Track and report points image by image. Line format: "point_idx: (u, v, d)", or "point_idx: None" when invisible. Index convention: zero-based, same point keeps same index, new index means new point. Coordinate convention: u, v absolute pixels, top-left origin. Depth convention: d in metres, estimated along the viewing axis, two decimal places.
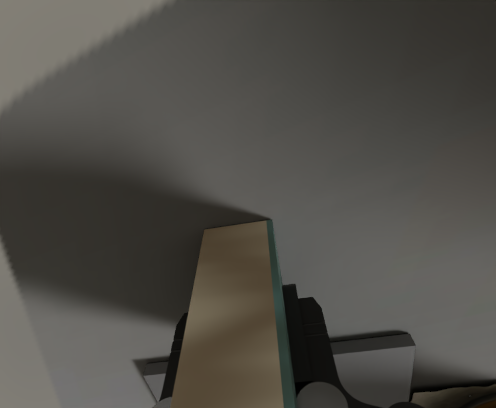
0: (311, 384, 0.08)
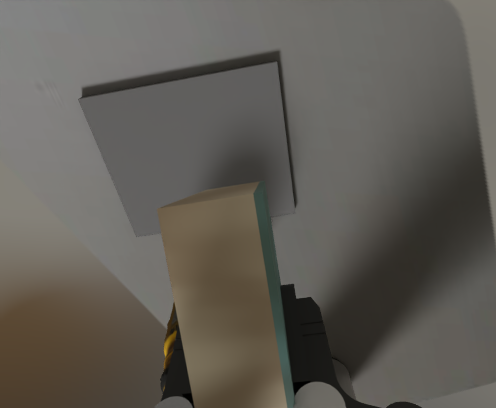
0: (309, 384, 0.08)
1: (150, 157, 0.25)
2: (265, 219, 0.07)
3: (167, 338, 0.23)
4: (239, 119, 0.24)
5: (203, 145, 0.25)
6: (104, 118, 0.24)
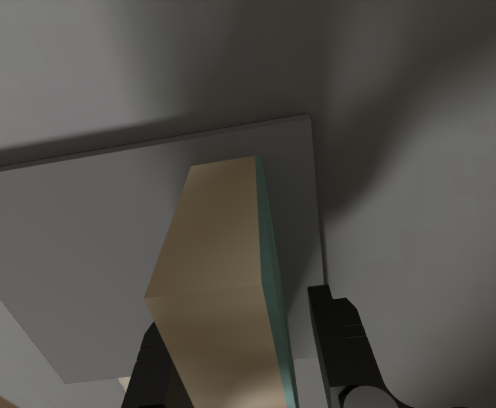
0: (358, 388, 0.08)
1: (71, 279, 0.14)
2: (275, 305, 0.06)
3: None
4: None
5: None
6: None
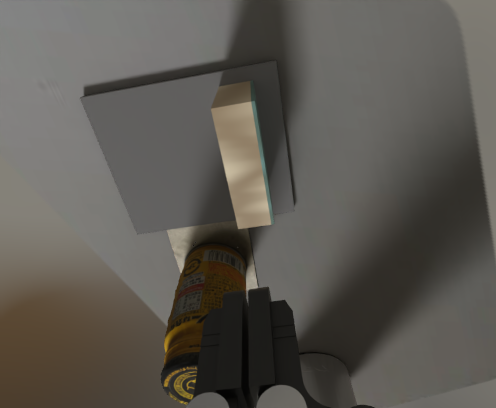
0: (273, 387, 0.08)
1: (151, 155, 0.26)
2: (256, 112, 0.18)
3: (167, 334, 0.24)
4: None
5: (203, 143, 0.25)
6: (105, 117, 0.24)
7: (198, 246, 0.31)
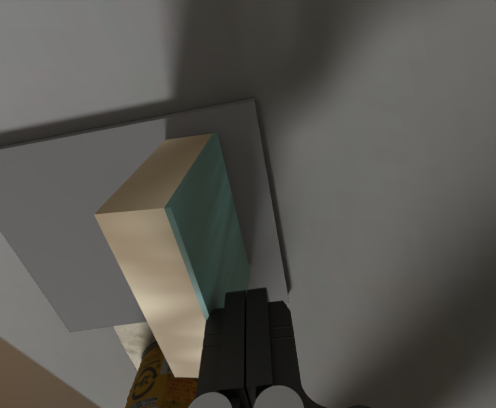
0: (270, 388, 0.08)
1: (74, 235, 0.17)
2: (176, 225, 0.09)
3: None
4: None
5: None
6: None
7: None
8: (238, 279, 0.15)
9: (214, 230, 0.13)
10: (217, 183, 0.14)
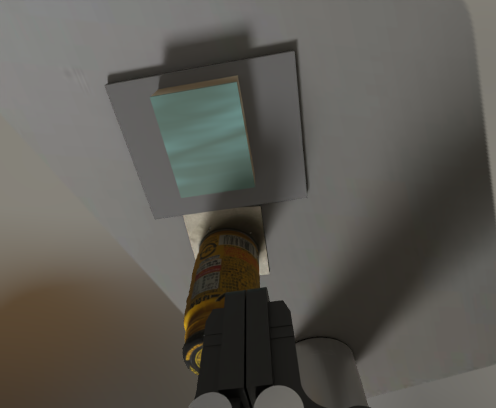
0: (270, 388, 0.08)
1: None
2: None
3: (187, 312, 0.25)
4: (256, 106, 0.25)
5: None
6: (128, 104, 0.25)
7: (213, 232, 0.32)
8: (223, 172, 0.25)
9: (196, 129, 0.24)
10: (217, 109, 0.23)
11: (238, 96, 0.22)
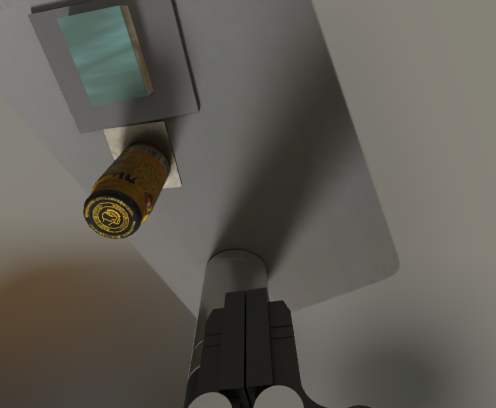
0: (270, 388, 0.08)
1: None
2: (59, 25, 0.30)
3: None
4: (146, 31, 0.33)
5: None
6: (47, 30, 0.33)
7: (130, 146, 0.39)
8: (121, 83, 0.33)
9: (95, 45, 0.31)
10: (108, 28, 0.31)
11: (122, 17, 0.30)
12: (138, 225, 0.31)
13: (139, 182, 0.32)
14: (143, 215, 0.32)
